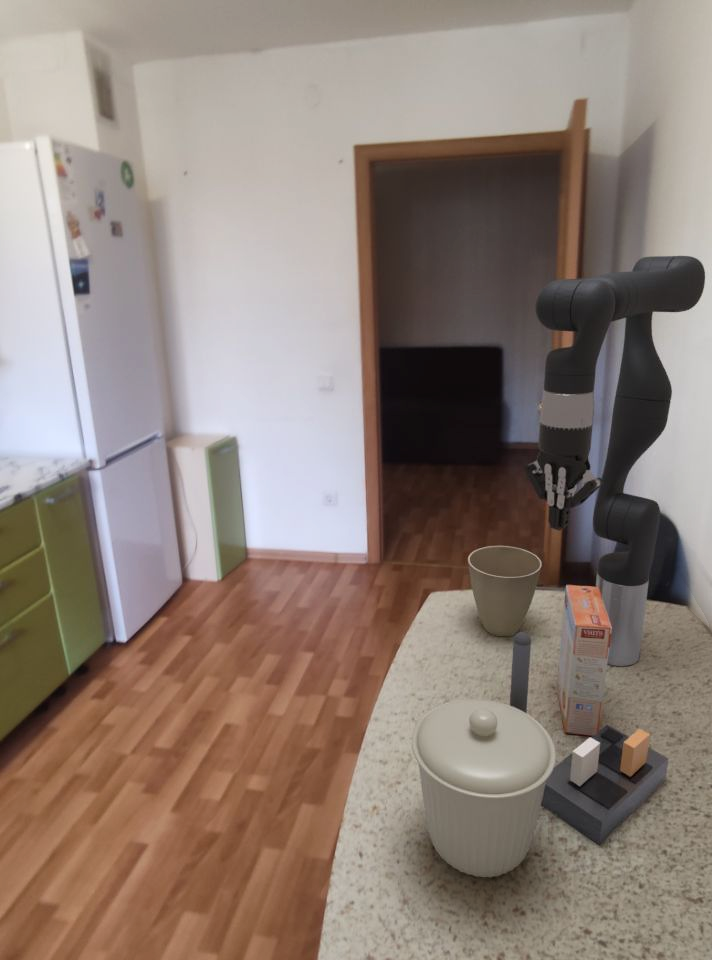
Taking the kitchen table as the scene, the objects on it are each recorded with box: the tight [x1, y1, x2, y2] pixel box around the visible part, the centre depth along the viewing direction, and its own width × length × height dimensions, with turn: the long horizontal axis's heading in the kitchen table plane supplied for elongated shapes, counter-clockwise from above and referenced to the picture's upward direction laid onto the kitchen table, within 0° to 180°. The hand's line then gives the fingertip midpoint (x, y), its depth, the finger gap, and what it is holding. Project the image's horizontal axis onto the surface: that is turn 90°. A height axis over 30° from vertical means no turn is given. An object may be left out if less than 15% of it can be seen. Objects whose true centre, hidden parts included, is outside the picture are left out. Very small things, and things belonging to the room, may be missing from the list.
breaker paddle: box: [620, 728, 651, 777], centre depth 95 cm, size 4×2×5 cm, turn 129°
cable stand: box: [509, 631, 532, 713], centre depth 96 cm, size 7×7×25 cm
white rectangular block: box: [570, 736, 600, 786], centre depth 94 cm, size 4×2×5 cm, turn 129°
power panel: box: [541, 724, 669, 846], centre depth 97 cm, size 18×10×4 cm, turn 129°
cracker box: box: [556, 584, 612, 737], centre depth 112 cm, size 14×6×21 cm, turn 168°
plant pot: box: [467, 545, 543, 637], centre depth 139 cm, size 15×15×16 cm
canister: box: [411, 698, 557, 878], centre depth 86 cm, size 18×18×21 cm
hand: (558, 528), depth 103 cm, fingers closed
